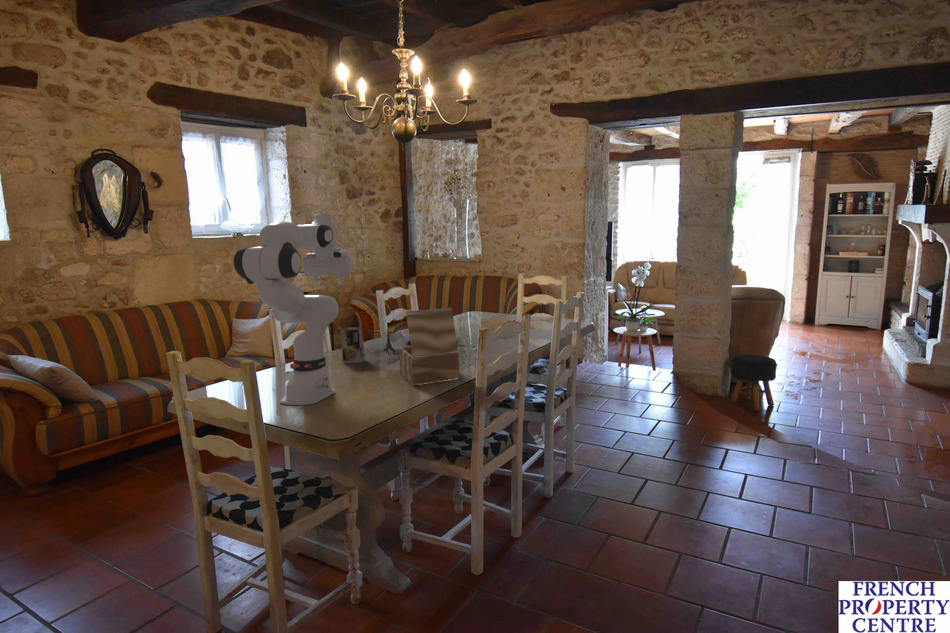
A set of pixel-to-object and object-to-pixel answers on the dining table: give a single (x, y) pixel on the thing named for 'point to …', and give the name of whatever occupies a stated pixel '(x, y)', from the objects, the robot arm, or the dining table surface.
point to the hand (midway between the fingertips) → (330, 285)
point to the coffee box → (352, 345)
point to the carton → (428, 366)
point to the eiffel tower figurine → (387, 344)
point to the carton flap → (431, 331)
